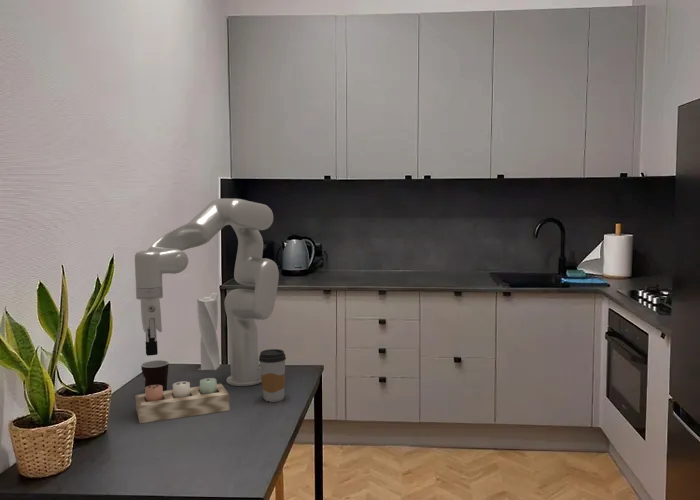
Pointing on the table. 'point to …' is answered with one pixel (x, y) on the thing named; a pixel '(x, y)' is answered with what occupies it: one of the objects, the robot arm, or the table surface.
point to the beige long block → (182, 405)
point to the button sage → (208, 386)
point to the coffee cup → (272, 374)
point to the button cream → (181, 389)
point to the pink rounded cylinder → (154, 393)
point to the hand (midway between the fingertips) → (151, 354)
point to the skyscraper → (208, 332)
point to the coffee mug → (155, 373)
